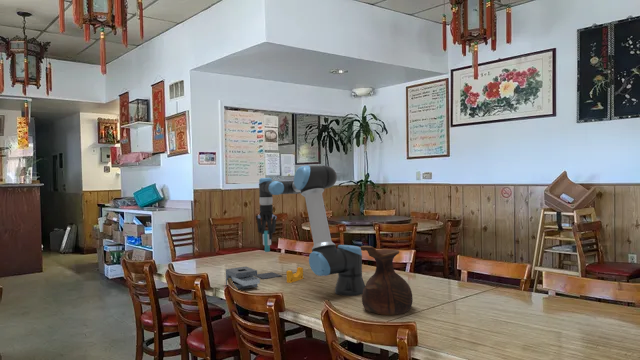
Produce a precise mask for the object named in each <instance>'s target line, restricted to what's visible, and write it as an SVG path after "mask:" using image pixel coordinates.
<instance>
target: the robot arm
mask: <svg viewBox="0 0 640 360" xmlns="http://www.w3.org/2000/svg"><path fill="white" fill-rule="evenodd" d="M337 180H338V175H337V172H336V170H334V168H333V167H332V166H329V165H301V166H299V167H298V168H297V169H296V170H295V173H294V176H293V180H275V181H273V179H272V177H260V178H259V180H258V181H259V182H258V189H259V192H258V194H259V199H258V200H259V214H258V215H255V218H256V223H257V230H258V231H257V232H258V233H260V234H261V239H262V245H263V246H265V243H264V231H266V225H267V231H268V232H269V233H268V234H267V236H268V245H270V246H272V240H273V234H274V233H276V226H277V219H278V216H277V215H275V214H274V213H273V212H274V209H273V207H274V206H273V196H278V195H291V194H294V195H295V194H296V195H297V194H300V195H301V196H302V197H304V199H305V205H306V210H307V214H308V220H309V226H310V231H311V237H312V240H313V246H312V248H311V253H309V256H308V264H309V268H310V270H311V271H312V272H313V273H314V275H316V276H318V277H323V276H326V277H327V276H331V275H336V274H338V277H337V281H336V284H335V287H334V293H335V295H339V296H343V297H344V296H345V297H352V296H355V297H356V296H362V294H363V290H364V287H365V285H366V283H365V281H364V278H363V252H362V251H363V250H361V246H358V245H351V244H349V245H348V244H338V246H336V243H334V242H333V241H332V237H331V236H332V235H331V231H330V227H329V222H328V218H327V217H328V216H327V213H326V212H327V211H326V207H325V202H324V201H325V200H324V197H323V193H324V192H325V189H330V188H331V187H333V186H335V184H336V182H337ZM266 223H267V224H266Z"/></svg>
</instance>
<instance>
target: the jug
mask: <svg viewBox="0 0 640 360" xmlns="http://www.w3.org/2000/svg"><path fill="white" fill-rule="evenodd" d="M360 248H361V251H363V252H364V251H367V253H368V256H369V257H371V258H373V259H374V260H375V266H376V268H375V271H374V273H373V274H372V275H371V276H370V278H368V280H367V281H366V282H365V287H364V290H363V294H362V295H361V304H362V306H363V309H364V310H365V311H367V312H369V313H372V314H376V315H381V316H397V315H403V314H405V313H407V312H408V311H409V310H410V309H412V305H413V293H412V289H411V286H410V285H409V283H408V282H407V281H406V279H404V278H403V277H402V276H401V275H400V274H399V273H397V272H396V271H395V268H394V264H393V262H394V259H395V257H396V256H397V255H399V253H400V251H399V250H398V249H387V248H381V249H376V248H375V247H373V246H371V245H361V246H360Z"/></svg>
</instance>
